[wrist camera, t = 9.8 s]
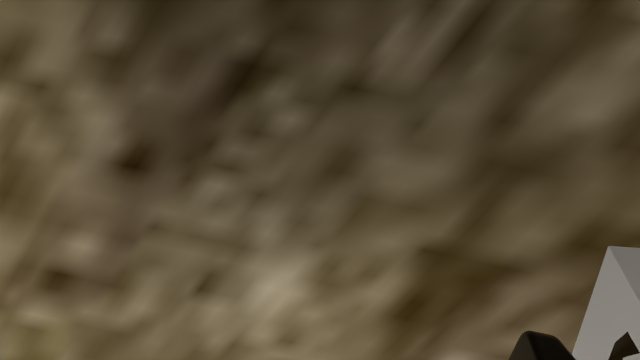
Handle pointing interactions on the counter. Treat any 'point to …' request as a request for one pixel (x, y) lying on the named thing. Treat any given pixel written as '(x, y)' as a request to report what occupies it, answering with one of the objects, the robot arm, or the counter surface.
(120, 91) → the counter surface
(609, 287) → the grater
